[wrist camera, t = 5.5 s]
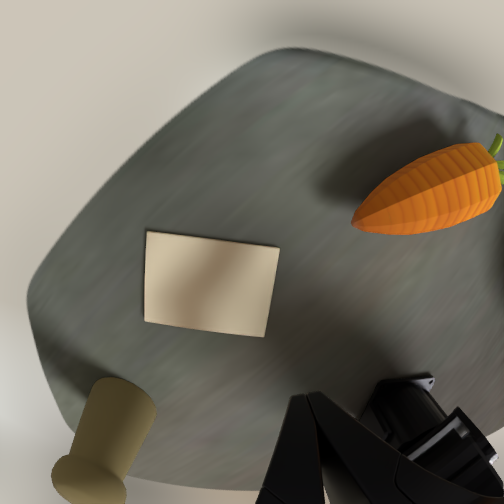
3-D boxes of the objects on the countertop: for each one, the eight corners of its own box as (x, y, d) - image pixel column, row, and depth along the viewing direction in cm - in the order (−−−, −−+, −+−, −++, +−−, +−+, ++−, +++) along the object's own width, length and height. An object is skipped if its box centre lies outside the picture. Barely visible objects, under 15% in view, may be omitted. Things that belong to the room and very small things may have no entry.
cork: (94, 414, 21) (52, 502, 10) (89, 367, 19) (27, 464, 9) (155, 433, 21) (130, 533, 10) (158, 389, 20) (122, 506, 9)
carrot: (342, 166, 13) (510, 119, 12) (328, 196, 18) (479, 145, 17) (383, 262, 12) (541, 182, 11) (357, 269, 17) (504, 200, 16)
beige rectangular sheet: (279, 247, 18) (279, 249, 17) (263, 334, 19) (264, 337, 19) (148, 231, 17) (147, 231, 17) (145, 319, 18) (144, 321, 18)
